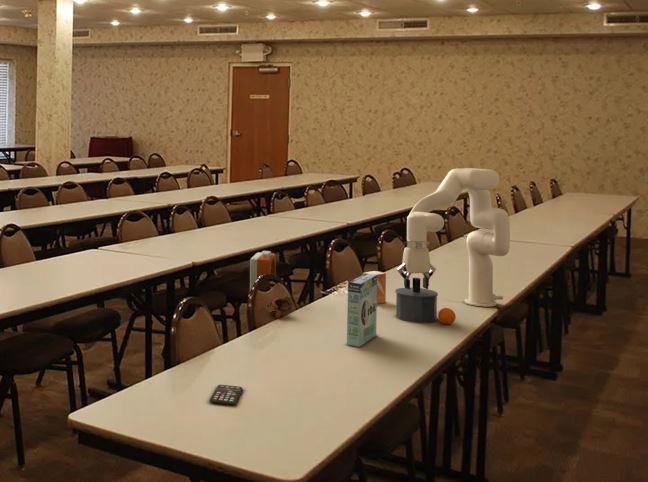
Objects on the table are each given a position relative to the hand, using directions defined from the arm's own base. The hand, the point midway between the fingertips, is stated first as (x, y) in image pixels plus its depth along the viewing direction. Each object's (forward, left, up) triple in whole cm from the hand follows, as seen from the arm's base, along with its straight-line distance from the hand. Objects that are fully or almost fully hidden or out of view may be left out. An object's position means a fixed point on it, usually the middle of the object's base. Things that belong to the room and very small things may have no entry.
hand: (416, 288), depth 334 cm
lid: (0, 0, -2) cm, 2 cm away
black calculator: (+101, +81, -12) cm, 130 cm away
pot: (0, 0, -12) cm, 12 cm away
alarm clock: (+50, -45, -12) cm, 68 cm away
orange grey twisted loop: (+55, -10, -12) cm, 57 cm away
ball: (-7, +11, -12) cm, 18 cm away
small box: (+5, -28, -12) cm, 31 cm away
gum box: (+36, +29, -12) cm, 48 cm away
